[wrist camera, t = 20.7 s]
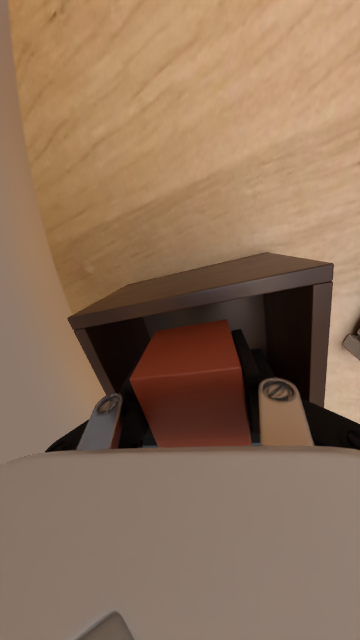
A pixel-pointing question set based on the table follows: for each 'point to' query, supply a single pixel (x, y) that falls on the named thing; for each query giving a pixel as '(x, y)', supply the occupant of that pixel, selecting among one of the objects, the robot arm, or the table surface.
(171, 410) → the block
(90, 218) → the table surface
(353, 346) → the alarm clock
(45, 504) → the robot arm
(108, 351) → the box
